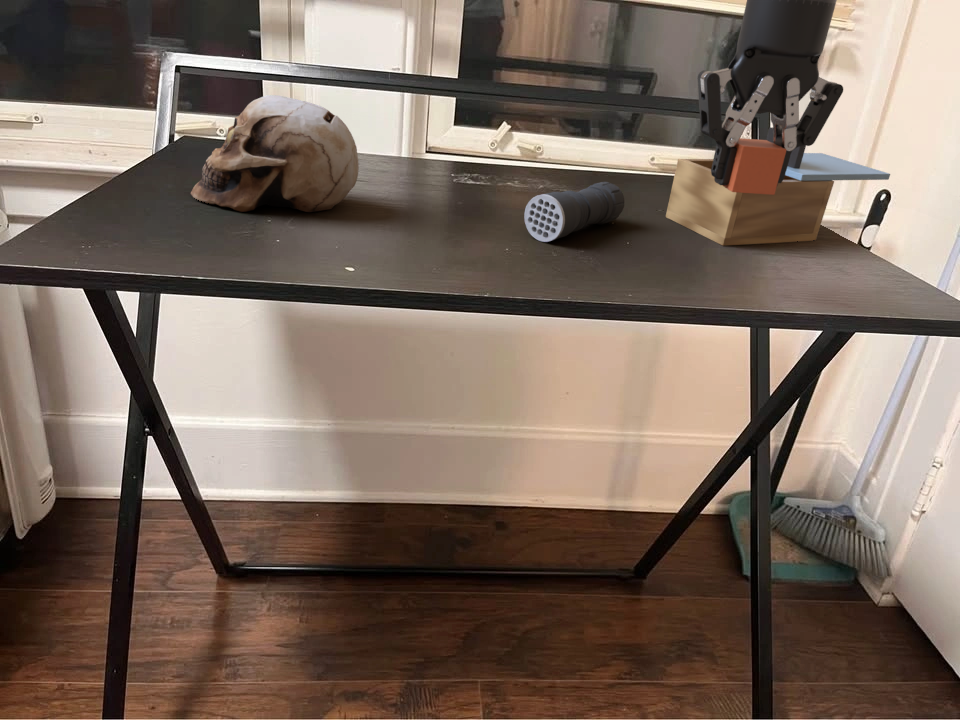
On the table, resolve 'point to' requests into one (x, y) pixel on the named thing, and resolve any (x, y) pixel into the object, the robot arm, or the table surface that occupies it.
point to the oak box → (745, 208)
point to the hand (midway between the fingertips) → (745, 184)
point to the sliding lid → (826, 167)
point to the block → (756, 167)
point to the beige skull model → (281, 159)
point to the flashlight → (572, 210)
